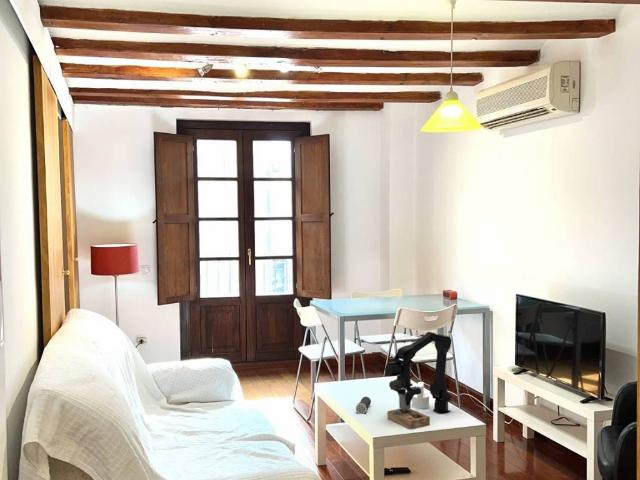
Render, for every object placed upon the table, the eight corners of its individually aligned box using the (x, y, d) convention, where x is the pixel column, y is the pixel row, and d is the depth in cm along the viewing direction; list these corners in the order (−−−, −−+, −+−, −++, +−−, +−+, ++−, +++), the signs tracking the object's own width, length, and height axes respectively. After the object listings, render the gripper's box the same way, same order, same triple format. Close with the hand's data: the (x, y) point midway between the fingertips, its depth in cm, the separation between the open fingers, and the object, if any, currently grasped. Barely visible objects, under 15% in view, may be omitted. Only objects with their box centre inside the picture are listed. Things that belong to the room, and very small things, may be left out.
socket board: (406, 414, 331) (406, 406, 331) (429, 424, 315) (429, 415, 315) (387, 419, 325) (387, 409, 324) (410, 429, 309) (410, 419, 309)
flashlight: (361, 405, 349) (361, 395, 349) (371, 405, 347) (371, 395, 347) (355, 413, 334) (355, 403, 334) (366, 414, 333) (366, 404, 332)
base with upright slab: (428, 409, 339) (428, 387, 339) (411, 408, 341) (411, 386, 340) (429, 404, 348) (429, 382, 347) (412, 403, 350) (412, 381, 349)
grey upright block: (405, 406, 326) (405, 392, 326) (410, 408, 323) (410, 394, 323) (399, 407, 324) (399, 393, 324) (404, 409, 321) (404, 395, 321)
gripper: (380, 371, 327) (380, 402, 328) (403, 380, 311) (403, 412, 312) (398, 368, 332) (398, 398, 333) (421, 376, 316) (421, 408, 317)
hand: (405, 404), depth 324 cm, fingers closed on grey upright block, 4 cm apart
